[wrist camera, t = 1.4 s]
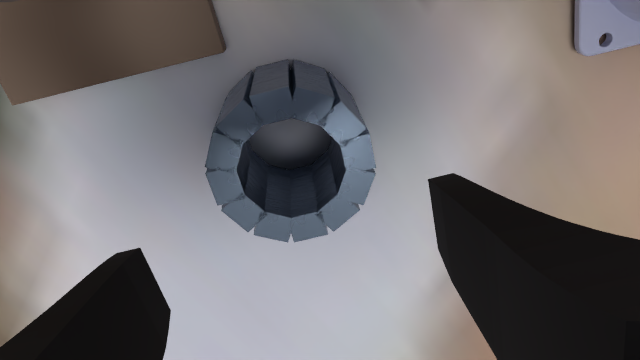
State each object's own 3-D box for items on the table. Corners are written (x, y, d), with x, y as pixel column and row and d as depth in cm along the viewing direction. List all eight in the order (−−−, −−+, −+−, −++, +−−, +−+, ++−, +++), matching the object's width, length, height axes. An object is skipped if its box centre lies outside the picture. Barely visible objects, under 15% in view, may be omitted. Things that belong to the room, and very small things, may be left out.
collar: (342, 45, 18) (356, 69, 14) (368, 173, 20) (386, 220, 17) (202, 80, 18) (182, 112, 15) (244, 202, 21) (236, 255, 17)
